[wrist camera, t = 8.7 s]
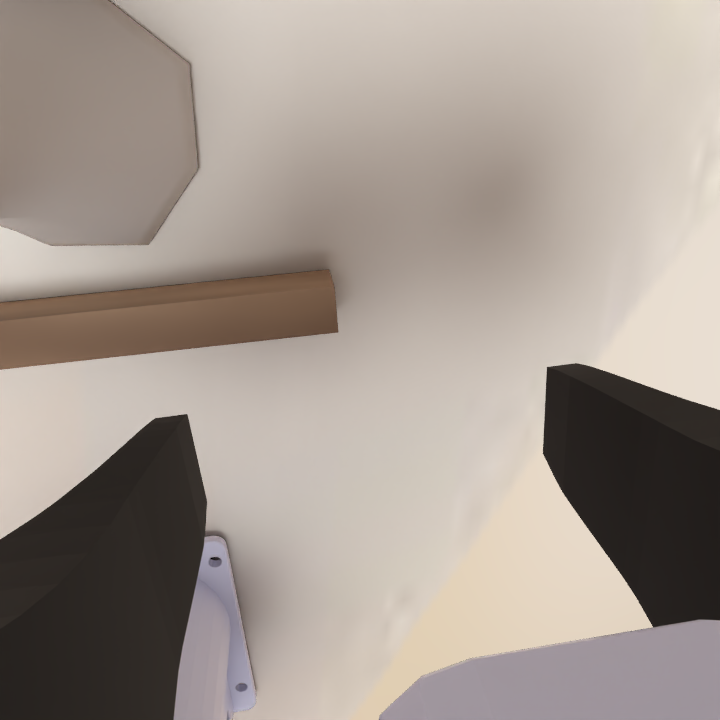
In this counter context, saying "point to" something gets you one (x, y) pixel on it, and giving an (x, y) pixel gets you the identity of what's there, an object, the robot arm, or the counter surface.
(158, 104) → the flask
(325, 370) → the counter surface
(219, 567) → the robot arm
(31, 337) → the strip
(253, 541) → the counter surface
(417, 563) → the counter surface
